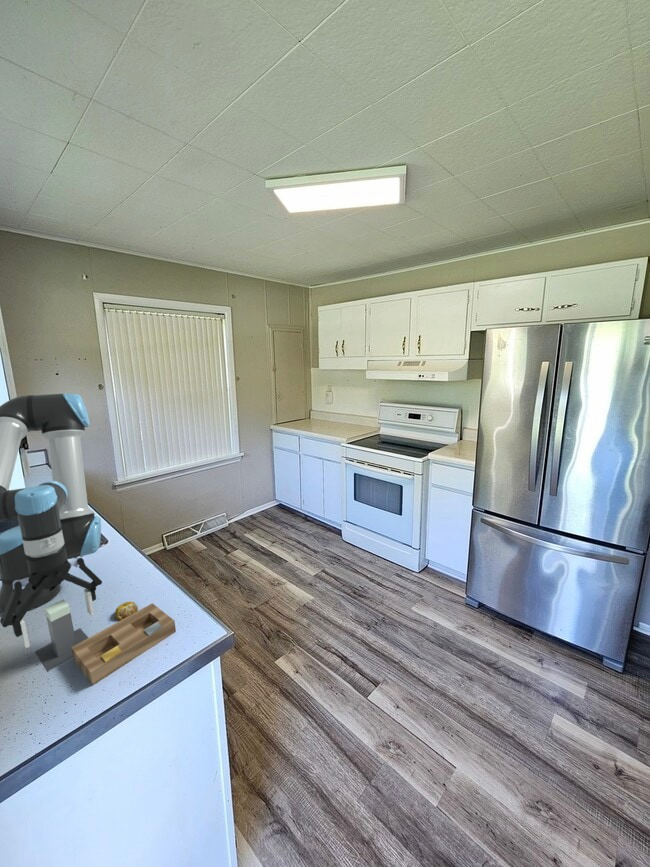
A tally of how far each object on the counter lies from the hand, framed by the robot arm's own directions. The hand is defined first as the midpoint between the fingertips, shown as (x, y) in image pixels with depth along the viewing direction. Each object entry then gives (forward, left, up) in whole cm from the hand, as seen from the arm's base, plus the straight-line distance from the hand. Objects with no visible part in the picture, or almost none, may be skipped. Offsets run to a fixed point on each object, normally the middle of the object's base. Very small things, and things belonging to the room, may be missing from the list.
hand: (60, 628), depth 89 cm
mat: (0, 0, -7) cm, 7 cm away
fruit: (+1, +15, -7) cm, 17 cm away
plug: (0, 0, -6) cm, 6 cm away
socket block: (+12, +10, -7) cm, 17 cm away
